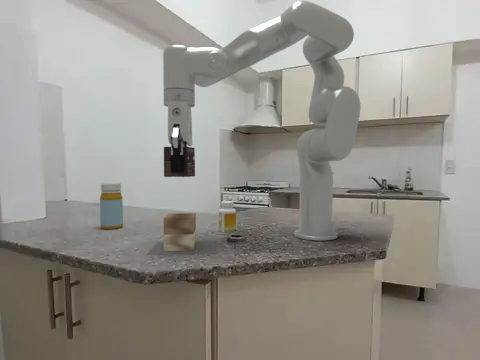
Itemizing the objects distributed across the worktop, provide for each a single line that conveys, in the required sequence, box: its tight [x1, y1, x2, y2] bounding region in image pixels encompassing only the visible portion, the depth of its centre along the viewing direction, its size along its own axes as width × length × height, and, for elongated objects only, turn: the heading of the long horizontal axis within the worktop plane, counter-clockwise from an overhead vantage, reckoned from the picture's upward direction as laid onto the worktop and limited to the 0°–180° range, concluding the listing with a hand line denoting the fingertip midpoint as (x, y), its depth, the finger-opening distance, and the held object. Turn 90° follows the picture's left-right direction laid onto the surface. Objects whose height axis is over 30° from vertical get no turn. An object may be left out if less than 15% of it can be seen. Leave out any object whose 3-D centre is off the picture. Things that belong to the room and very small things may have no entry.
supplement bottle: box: [218, 200, 237, 233], centre depth 100 cm, size 5×5×10 cm
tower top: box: [163, 212, 197, 236], centre depth 80 cm, size 7×7×4 cm
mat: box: [146, 240, 218, 256], centre depth 80 cm, size 16×12×1 cm
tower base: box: [163, 228, 197, 251], centre depth 80 cm, size 7×7×4 cm
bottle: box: [99, 182, 124, 230], centre depth 108 cm, size 7×7×15 cm
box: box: [163, 146, 196, 178], centre depth 79 cm, size 6×6×7 cm
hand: (179, 171), depth 79 cm, fingers closed on box, 6 cm apart
